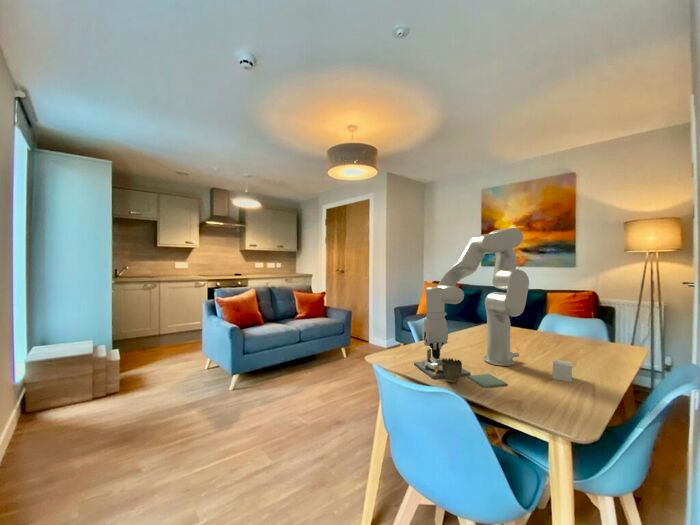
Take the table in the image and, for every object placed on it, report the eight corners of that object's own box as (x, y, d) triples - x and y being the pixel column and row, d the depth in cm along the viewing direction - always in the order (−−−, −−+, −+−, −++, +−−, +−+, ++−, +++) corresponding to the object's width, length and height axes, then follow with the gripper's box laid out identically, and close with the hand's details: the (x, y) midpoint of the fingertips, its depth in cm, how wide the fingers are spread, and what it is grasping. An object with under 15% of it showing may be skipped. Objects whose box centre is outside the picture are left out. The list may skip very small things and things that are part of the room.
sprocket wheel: (427, 358, 137) (427, 344, 137) (463, 364, 130) (463, 349, 130) (417, 368, 124) (417, 353, 124) (456, 375, 116) (456, 359, 116)
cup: (463, 387, 109) (463, 364, 109) (442, 385, 111) (442, 363, 111) (460, 379, 116) (460, 358, 116) (440, 377, 118) (440, 357, 118)
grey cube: (552, 378, 118) (552, 363, 118) (553, 374, 123) (553, 359, 123) (571, 382, 114) (571, 366, 114) (571, 377, 119) (571, 362, 119)
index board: (447, 361, 137) (447, 359, 137) (470, 375, 121) (470, 371, 121) (413, 364, 133) (413, 361, 133) (432, 378, 117) (432, 375, 117)
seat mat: (488, 375, 121) (488, 373, 121) (507, 385, 111) (507, 383, 111) (466, 377, 118) (466, 375, 118) (483, 387, 109) (483, 385, 109)
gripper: (445, 313, 136) (446, 353, 136) (415, 315, 132) (416, 357, 132) (455, 316, 128) (456, 359, 129) (423, 318, 125) (424, 362, 125)
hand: (436, 358), depth 130 cm, fingers closed
